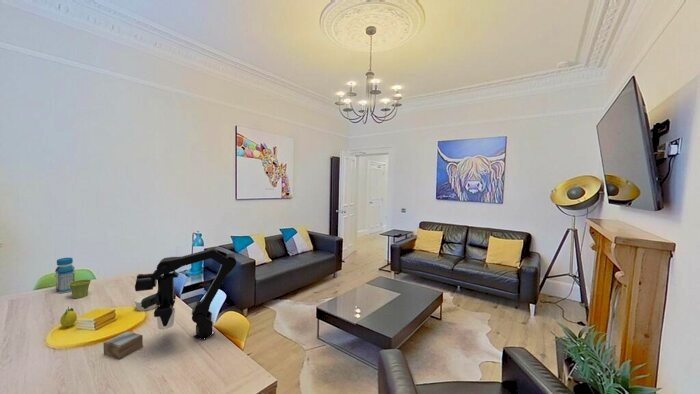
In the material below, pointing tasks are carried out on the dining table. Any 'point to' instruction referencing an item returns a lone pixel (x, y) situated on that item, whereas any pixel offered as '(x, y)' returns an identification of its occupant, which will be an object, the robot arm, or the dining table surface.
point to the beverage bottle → (64, 275)
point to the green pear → (68, 317)
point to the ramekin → (138, 304)
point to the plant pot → (79, 288)
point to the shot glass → (170, 322)
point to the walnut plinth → (123, 345)
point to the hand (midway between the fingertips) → (165, 322)
